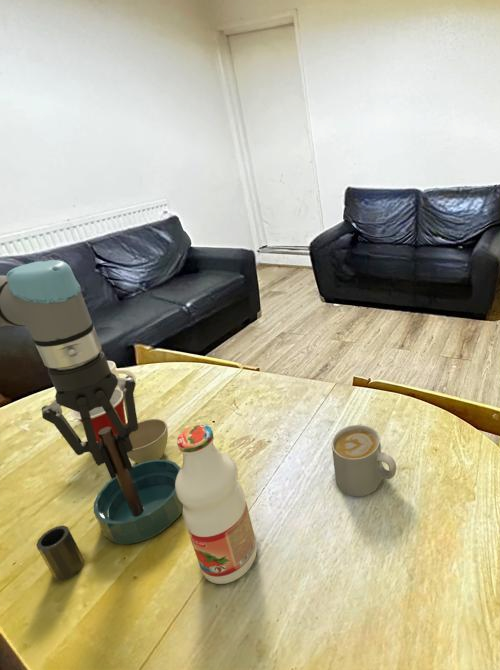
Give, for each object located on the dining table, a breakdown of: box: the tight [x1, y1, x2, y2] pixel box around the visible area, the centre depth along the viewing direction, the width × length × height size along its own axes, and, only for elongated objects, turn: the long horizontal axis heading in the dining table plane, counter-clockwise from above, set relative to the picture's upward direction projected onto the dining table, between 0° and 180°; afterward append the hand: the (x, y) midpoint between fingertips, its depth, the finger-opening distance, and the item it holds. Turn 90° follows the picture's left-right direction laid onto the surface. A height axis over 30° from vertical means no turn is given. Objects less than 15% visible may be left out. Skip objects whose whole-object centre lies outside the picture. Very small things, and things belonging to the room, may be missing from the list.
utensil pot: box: [35, 525, 85, 582], centre depth 71 cm, size 4×4×8 cm
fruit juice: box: [175, 424, 258, 585], centre depth 67 cm, size 9×9×28 cm
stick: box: [98, 427, 144, 517], centre depth 75 cm, size 2×2×20 cm
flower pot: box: [127, 418, 169, 464], centre depth 95 cm, size 10×10×7 cm
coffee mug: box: [331, 424, 397, 497], centre depth 85 cm, size 13×10×10 cm
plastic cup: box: [70, 388, 127, 443], centre depth 99 cm, size 11×11×12 cm
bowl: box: [93, 458, 183, 545], centre depth 81 cm, size 15×15×6 cm
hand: (120, 469), depth 75 cm, fingers closed on stick, 2 cm apart
